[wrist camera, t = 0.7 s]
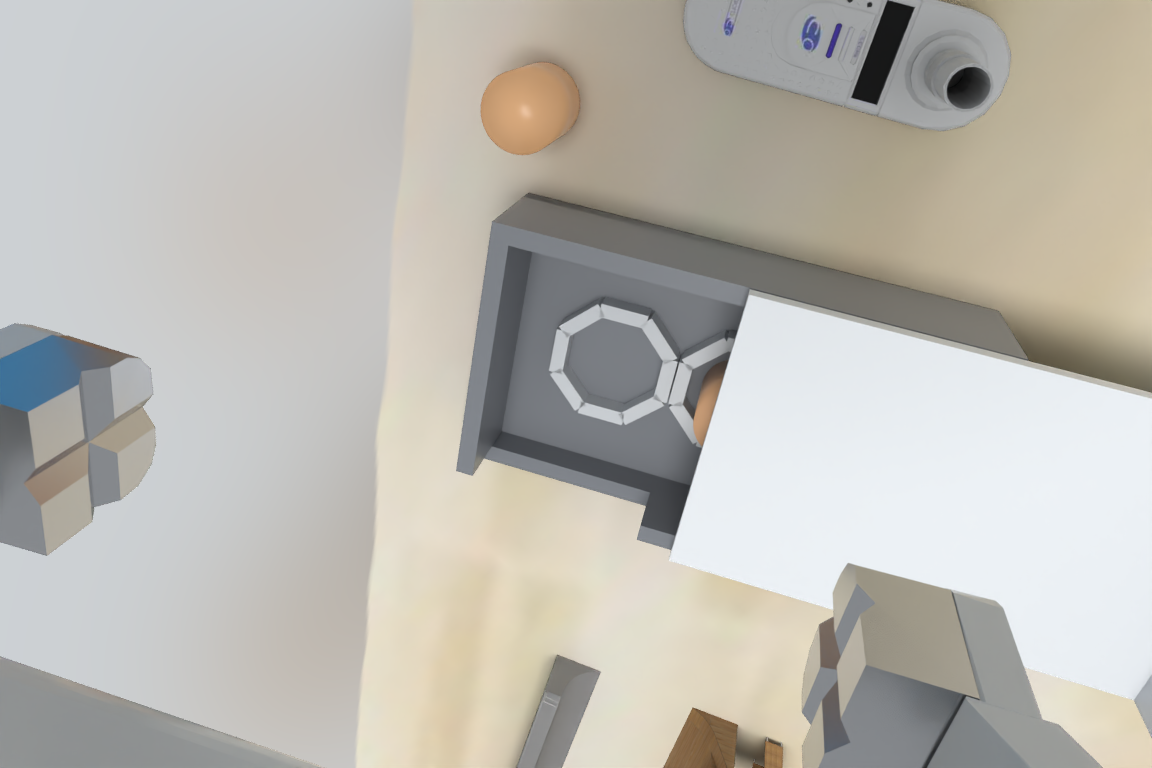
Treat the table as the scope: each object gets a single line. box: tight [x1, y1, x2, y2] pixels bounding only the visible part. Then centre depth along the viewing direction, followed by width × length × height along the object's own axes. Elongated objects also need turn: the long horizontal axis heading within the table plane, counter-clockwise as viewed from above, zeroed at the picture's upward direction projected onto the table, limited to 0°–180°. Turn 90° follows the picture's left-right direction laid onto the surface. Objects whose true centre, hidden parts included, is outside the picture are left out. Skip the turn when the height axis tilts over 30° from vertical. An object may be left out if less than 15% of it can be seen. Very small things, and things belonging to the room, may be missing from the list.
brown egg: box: [481, 62, 580, 155], centre depth 43 cm, size 4×4×4 cm
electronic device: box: [683, 0, 1011, 131], centre depth 37 cm, size 5×10×15 cm
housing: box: [456, 193, 1029, 550], centre depth 47 cm, size 16×26×6 cm, turn 79°
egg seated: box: [693, 360, 728, 446], centre depth 47 cm, size 4×4×4 cm
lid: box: [669, 289, 1152, 738], centre depth 41 cm, size 16×26×4 cm, turn 79°
